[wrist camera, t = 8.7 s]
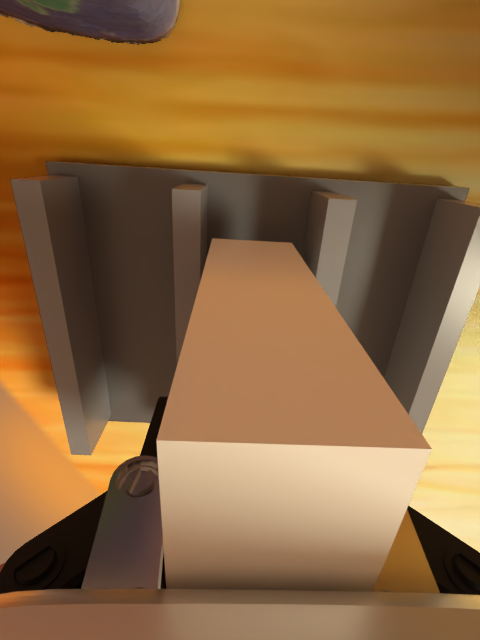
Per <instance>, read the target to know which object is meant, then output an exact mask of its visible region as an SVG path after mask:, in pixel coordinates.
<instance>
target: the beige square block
mask: <svg viewBox="0 0 480 640" xmlns="http://www.w3.org/2000/svg"><path fill="white" fill-rule="evenodd" d="M156 442H157V457H158V472H159V487H160V502H161V517H162V532H163V547H164V562H165V577H166V589H228V590H300V591H358V592H373V589H374V587H375V585H376V582H377V580H378V577H379V575H380V573H381V570H382V568H383V565H384V563H385V561H386V558H387V556H388V553H389V551H390V549H391V546H392V544H393V541H394V539H395V537H396V534H397V532H398V529H399V527H400V525H401V522H402V520H403V517H404V515H405V513H406V510H407V508H408V505H409V503H410V501H411V498H412V496H413V493H414V491H415V489H416V486H417V484H418V481H419V479H420V477H421V474H422V472H423V469H424V467H425V465H426V462H427V460H428V457H429V455H430V453H431V450H432V449H431V447H430V446H429V444H428V443H427V441H426V440H425V438H424V437H423V435H422V434H421V432H420V431H419V429H418V428H417V426H416V425H415V424H414V422H413V421H412V419H411V418H410V416H409V415H408V413H407V412H406V410H405V409H404V407H403V406H402V404H401V403H400V401H399V400H398V398H397V397H396V396H395V394H394V393H393V391H392V390H391V388H390V387H389V385H388V384H387V382H386V381H385V379H384V378H383V376H382V375H381V373H380V372H379V371H378V369H377V368H376V366H375V365H374V363H373V362H372V360H371V359H370V357H369V356H368V354H367V353H366V351H365V350H364V348H363V347H362V346H361V344H360V343H359V341H358V340H357V338H356V337H355V335H354V334H353V332H352V331H351V329H350V328H349V326H348V325H347V323H346V322H345V320H344V319H343V318H342V316H341V315H340V313H339V312H338V310H337V309H336V307H335V306H334V304H333V303H332V301H331V300H330V298H329V297H328V295H327V294H326V293H325V291H324V290H323V288H322V287H321V285H320V284H319V282H318V281H317V279H316V278H315V276H314V275H313V273H312V272H311V270H310V269H309V268H308V266H307V265H306V263H305V262H304V260H303V259H302V257H301V256H300V254H299V253H298V251H297V250H296V248H295V247H294V245H293V244H292V243H287V242H268V241H250V240H232V239H214V238H212V241H211V245H210V248H209V252H208V256H207V259H206V263H205V267H204V270H203V274H202V277H201V281H200V285H199V288H198V292H197V295H196V299H195V303H194V306H193V310H192V313H191V317H190V321H189V324H188V328H187V332H186V335H185V339H184V342H183V346H182V350H181V353H180V357H179V360H178V364H177V368H176V371H175V375H174V379H173V382H172V386H171V389H170V393H169V397H168V400H167V404H166V407H165V411H164V415H163V418H162V422H161V426H160V429H159V433H158V436H157V440H156Z"/></svg>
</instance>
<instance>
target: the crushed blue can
mask: <svg viewBox="0 0 480 640" xmlns="http://www.w3.org/2000/svg"><path fill="white" fill-rule="evenodd" d="M179 9H180V0H0V15H3V16H6V17H8V16H11V18H14V19H15V20H17V21H19V22H20V23H23V22H24V23H25V24H27V25H30V26H31V27H33V26H36V27H40V28H43V29H44V30H46V31H51V32H55V31H57V32H64V33H66V32H67V33H69V34H72V35H73V36H74V35H78V36H85V37H89V38H94V39H98V40H99V39H104V40H108V41H111V42H117V43H124V42H126V43H128V42H129V43H130V44H137V45H139V44H140V43H142V44H145V43H154V42H158V41H161V39H162V38H166V37H168V36H169V34H170V32H171V31H172V29H173V28H174V27H175V23H176V21H177V18H178V14H179Z"/></svg>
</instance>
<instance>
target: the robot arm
mask: <svg viewBox="0 0 480 640" xmlns="http://www.w3.org/2000/svg"><path fill="white" fill-rule="evenodd" d="M167 400H168V397H161V396H160V397H159V398H158V401H157V404H156V407H155V410H154V413H153V416H152V420H151V423H150V426H149V429H148V432H147V435H146V439H145V442H144V445H143V448H142V451H141V454H140V456H137V457H133V458H131V459H129V460H126V461H125V462H124V463H122V464H121V465H119V467H118V468H117V469H116V470H115V471H114V473H113V475H112V477H111V480H110V483H109V487H108V491H106V492H105V493H103V494H102V495H100V496H99V497H97V498H95V499H94V500H92V501H91V502H89V503H88V504H86V505H85V506H83V507H81V508H80V509H78V510H77V511H75V512H74V513H72V514H71V515H69V516H67V517H66V518H65V519H63V520H61V521H59V522H58V523H56V524H55V525H53V526H52V527H50V528H49V529H47V530H45V531H44V532H42V533H41V534H39V535H38V536H36V537H34V538H33V539H32V540H30V541H28V542H27V543H25V544H24V545H23V546H21V547H20V548H19V549H18V550H16V551H15V552H14V553H13V555H12V556H11V557H10V558H9V559H8V560H7V561H6V563H4V564H2V565H0V640H480V553H479V552H478V551H476V550H475V549H473V548H472V547H470V546H469V545H467V544H466V543H464V542H463V541H461V540H460V539H458V538H457V537H455V536H454V535H452V534H451V533H449V532H447V531H446V530H444V529H443V528H441V527H440V526H438V525H437V524H435V523H434V522H432V521H431V520H429V519H428V518H426V517H425V516H423V515H422V514H420V513H419V512H417V511H416V510H414V509H413V508H411V507H410V506H408V508H407V510H406V513H405V515H404V517H403V520H402V522H401V525H400V527H399V529H398V532H397V534H396V537H395V539H394V541H393V544H392V546H391V549H390V551H389V553H388V556H387V558H386V561H385V563H384V565H383V568H382V570H381V573H380V575H379V577H378V580H377V582H376V585H375V587H374V589H373V592H358V591H300V590H228V589H166V577H165V562H164V547H163V532H162V517H161V502H160V487H159V472H158V457H157V442H156V440H157V436H158V433H159V429H160V426H161V422H162V418H163V415H164V411H165V407H166V404H167Z"/></svg>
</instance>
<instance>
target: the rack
mask: <svg viewBox="0 0 480 640" xmlns="http://www.w3.org/2000/svg"><path fill="white" fill-rule="evenodd" d="M45 162H46V167H47V173H48V175H47V176H36V177H25V178H15V179H10V180H11V185H12V189H13V194H14V198H15V203H16V207H17V212H18V216H19V221H20V225H21V230H22V234H23V239H24V243H25V248H26V252H27V257H28V262H29V266H30V271H31V275H32V280H33V284H34V289H35V293H36V298H37V302H38V307H39V311H40V316H41V320H42V325H43V329H44V334H45V338H46V343H47V347H48V352H49V356H50V361H51V365H52V370H53V374H54V379H55V383H56V388H57V392H58V397H59V401H60V406H61V410H62V415H63V419H64V424H65V428H66V433H67V437H68V442H69V446H70V451H71V454H75V455H91V454H92V452H93V450H94V448H95V446H96V444H97V442H98V440H99V438H100V436H101V434H102V432H103V430H104V428H105V426H106V424H107V422H108V421H120V422H144V423H151V420H152V416H153V413H154V410H155V407H156V404H157V401H158V398H159V397H160V396H161V397H169V393H170V389H171V386H172V382H173V379H174V375H175V371H176V368H177V364H178V360H179V357H180V353H181V350H182V346H183V342H184V339H185V335H186V332H187V328H188V324H189V321H190V317H191V313H192V310H193V306H194V303H195V299H196V295H197V292H198V288H199V285H200V281H201V277H202V274H203V270H204V267H205V263H206V259H207V256H208V252H209V248H210V245H211V241H212V238H214V239H232V240H250V241H268V242H287V243H292V244H293V245H294V247H295V248H296V250H297V251H298V253H299V254H300V256H301V257H302V259H303V260H304V262H305V263H306V265H307V266H308V268H309V269H310V270H311V272H312V273H313V275H314V276H315V278H316V279H317V281H318V282H319V284H320V285H321V287H322V288H323V290H324V291H325V293H326V294H327V295H328V297H329V298H330V300H331V301H332V303H333V304H334V306H335V307H336V309H337V310H338V312H339V313H340V315H341V316H342V318H343V319H344V320H345V322H346V323H347V325H348V326H349V328H350V329H351V331H352V332H353V334H354V335H355V337H356V338H357V340H358V341H359V343H360V344H361V346H362V347H363V348H364V350H365V351H366V353H367V354H368V356H369V357H370V359H371V360H372V362H373V363H374V365H375V366H376V368H377V369H378V371H379V372H380V373H381V375H382V376H383V378H384V379H385V381H386V382H387V384H388V385H389V387H390V388H391V390H392V391H393V393H394V394H395V396H396V397H397V398H398V400H399V401H400V403H401V404H402V406H403V407H404V409H405V410H406V412H407V413H408V415H409V416H410V418H411V419H412V421H413V422H414V424H415V425H416V426H417V428H418V429H419V431H420V432H421V434H422V433H423V430H424V427H425V425H426V422H427V420H428V417H429V415H430V412H431V410H432V407H433V404H434V402H435V399H436V397H437V394H438V392H439V389H440V386H441V384H442V381H443V379H444V376H445V374H446V371H447V369H448V366H449V363H450V361H451V358H452V356H453V353H454V351H455V348H456V346H457V343H458V340H459V338H460V335H461V333H462V330H463V328H464V325H465V323H466V320H467V317H468V315H469V312H470V310H471V307H472V305H473V302H474V300H475V297H476V294H477V292H478V289H479V287H480V204H478V203H472V202H467V201H465V200H466V197H467V194H468V191H469V188H464V187H457V186H442V185H426V184H410V183H394V182H378V181H363V180H347V179H331V178H315V177H299V176H284V175H268V174H252V173H236V172H220V171H204V170H189V169H173V168H157V167H141V166H125V165H110V164H94V163H78V162H62V161H45Z"/></svg>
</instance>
